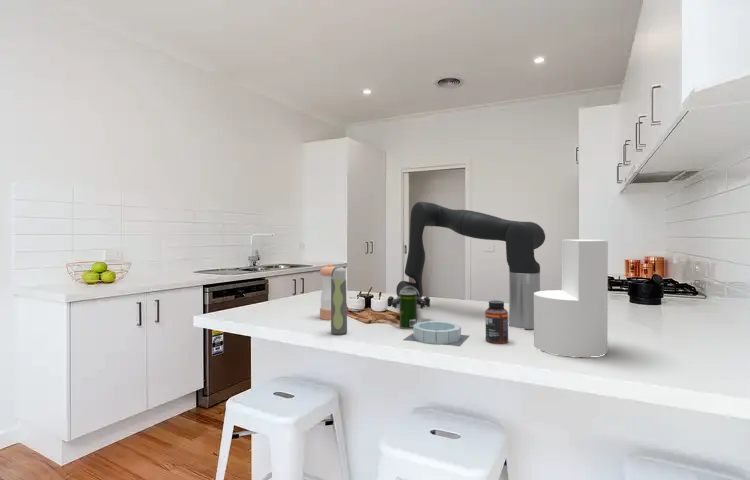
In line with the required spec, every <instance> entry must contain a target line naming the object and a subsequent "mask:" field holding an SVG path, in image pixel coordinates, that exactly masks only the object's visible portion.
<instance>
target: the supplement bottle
mask: <svg viewBox="0 0 750 480" xmlns="http://www.w3.org/2000/svg"><path fill="white" fill-rule="evenodd" d="M504 304H505V302H504V301H503V300H497V299H496V300H489V301H488V308H487V309H485V313H484V315H485V316H484V317H485V318H484V319H485V342H487V343H489V344H492V345H505V344H508V342H509V316H508V315H509V312H508V310H507V309H505V305H504Z"/></svg>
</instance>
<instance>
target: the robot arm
mask: <svg viewBox="0 0 750 480" xmlns="http://www.w3.org/2000/svg"><path fill="white" fill-rule="evenodd" d="M425 227H436V228H437V227H439V228H446V229H450V230H451V231H453V232H455V233H456V234H459V235H461V236H463V237H464V236H465V237H468V238H472V239H478V240H487V241H502V242H505V255H506V262H507V265H508V270H509V271H508V274H509V275H508V277H509V279H508V281H509V283H508V285H509V286H508V287H509V288H508V291H509V292H508V293H509V295H508V297H509V298H508V300H509V301H508V304H509V307H508V309H509V310H508V311H509V312H508V315H509V316H508V326H510V327H513V328H516V329H517V328H518V329H524V330H534V293H535V292H538V291H541V265H540V263H539V262H538V261H537V260H536V257H535V250H537V249H539V248H540V247H541V246H542V245H543V244H544V243H545V241H546V233H545V230H544V229H543V228H542V227H541V226H540V225H539V224H538V223H536V222H532V221H518V220H517V221H516V220H510V219H505V218H501V217H497V216H495V215H491V214H487V213H484V212H480V211H479V212H478V211H474V210H467V209H452V208H448V207H445V206H442V205H439V204H436V203H433V202H428V201H427V202H426V201H418V202H416V203H415V204H413V206H412V208H411V211H410V221H409V240H408V242H409V243H408V244H409V245H408V252H407V253H408V254H407V258H406V263H405V268H404V274H405V276H406V277H408V278H409V277H410V278H411V279H413V280H414V281H415V282H413V281H407V280H402V281H401V280H400V282H399V283H397V286H396V295H397V297H396V298H394V297H393V296H392V295H391V296H388V298H387V307H388V308H391V307H392V308H394V309H397V308H400V292H401V291H400V290H404V289H412V290H416V293H417V308H420V309H424V308H425V307H427V308H430V307H431V299H430V297H429V296H428V295H427V296H424V298H423V295H424V294H423V293H424V292H423V291H424V289H423V271H424V267H425V262H426V251H425V248H424V247H425V246H424V243H423V241H424V240H423V233H424V230H425Z"/></svg>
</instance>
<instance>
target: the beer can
mask: <svg viewBox="0 0 750 480" xmlns="http://www.w3.org/2000/svg"><path fill="white" fill-rule="evenodd" d="M400 291H401V292H400V307H399V327H400V329H404V330H413V325H415V324H416V323H418V315H417V314H418V313H417V312H418V310H417V309H418V307H417V293H416V290H412V289H404V290H400Z"/></svg>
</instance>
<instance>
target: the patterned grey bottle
mask: <svg viewBox="0 0 750 480" xmlns="http://www.w3.org/2000/svg"><path fill="white" fill-rule="evenodd" d="M331 277H332V279H331V320H330V333H331V334H332V335H337V336H339V335H340V336H341V335H345V334H347V332H348V311H347V310H348V309H347V306H348V305H347V303H348V302H347V280H346V268H344V267H342V266H335V268H334V269H333V270H332V274H331Z"/></svg>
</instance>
